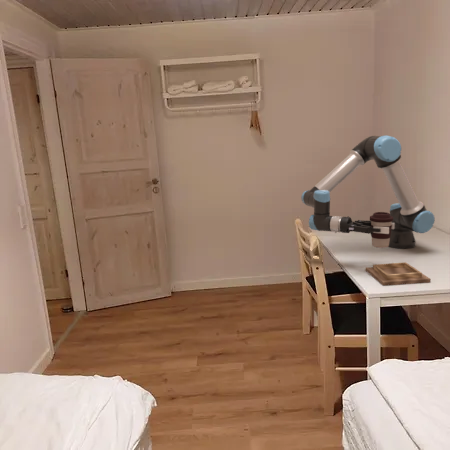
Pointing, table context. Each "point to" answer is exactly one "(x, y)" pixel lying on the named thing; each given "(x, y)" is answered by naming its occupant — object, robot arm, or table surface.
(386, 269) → the cup rack
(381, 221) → the coffee cup
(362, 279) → the table surface
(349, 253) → the table surface
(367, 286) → the table surface
